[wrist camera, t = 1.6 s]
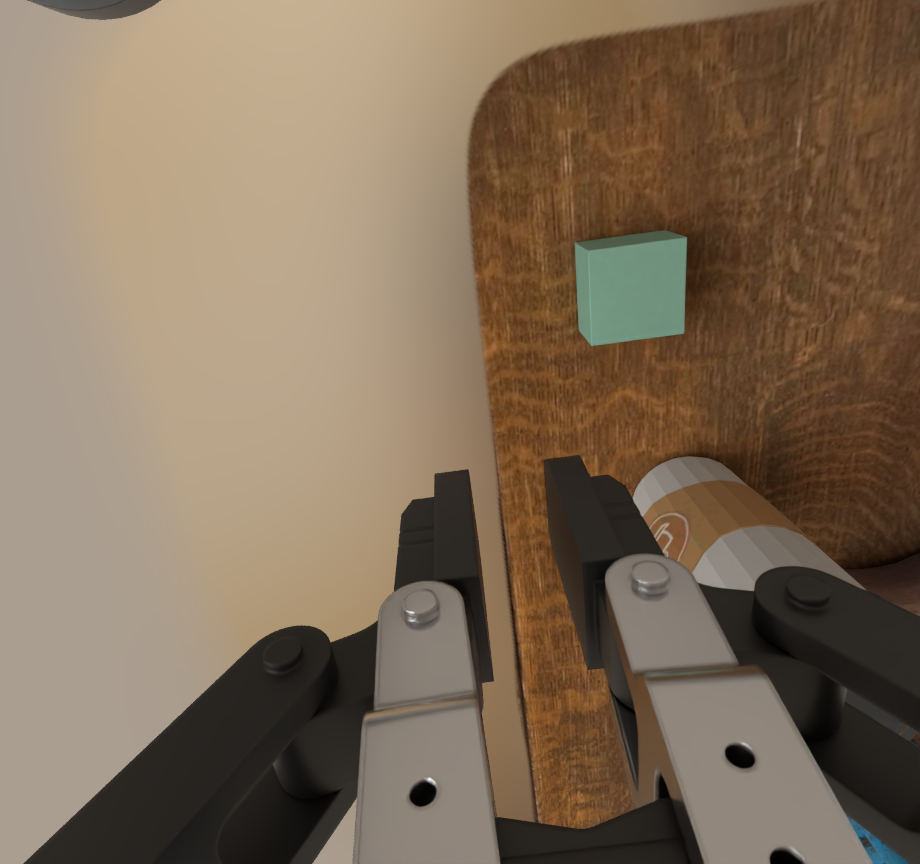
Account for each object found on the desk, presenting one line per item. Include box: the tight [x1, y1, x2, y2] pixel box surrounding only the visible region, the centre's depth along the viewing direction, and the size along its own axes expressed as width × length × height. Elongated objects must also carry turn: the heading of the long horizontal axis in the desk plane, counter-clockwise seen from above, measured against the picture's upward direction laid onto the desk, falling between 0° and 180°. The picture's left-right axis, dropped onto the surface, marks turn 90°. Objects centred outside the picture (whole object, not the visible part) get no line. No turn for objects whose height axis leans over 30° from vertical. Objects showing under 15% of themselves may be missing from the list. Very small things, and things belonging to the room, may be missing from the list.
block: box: [575, 230, 687, 346], centre depth 29 cm, size 4×4×3 cm
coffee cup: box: [633, 456, 919, 741], centre depth 28 cm, size 8×8×15 cm
